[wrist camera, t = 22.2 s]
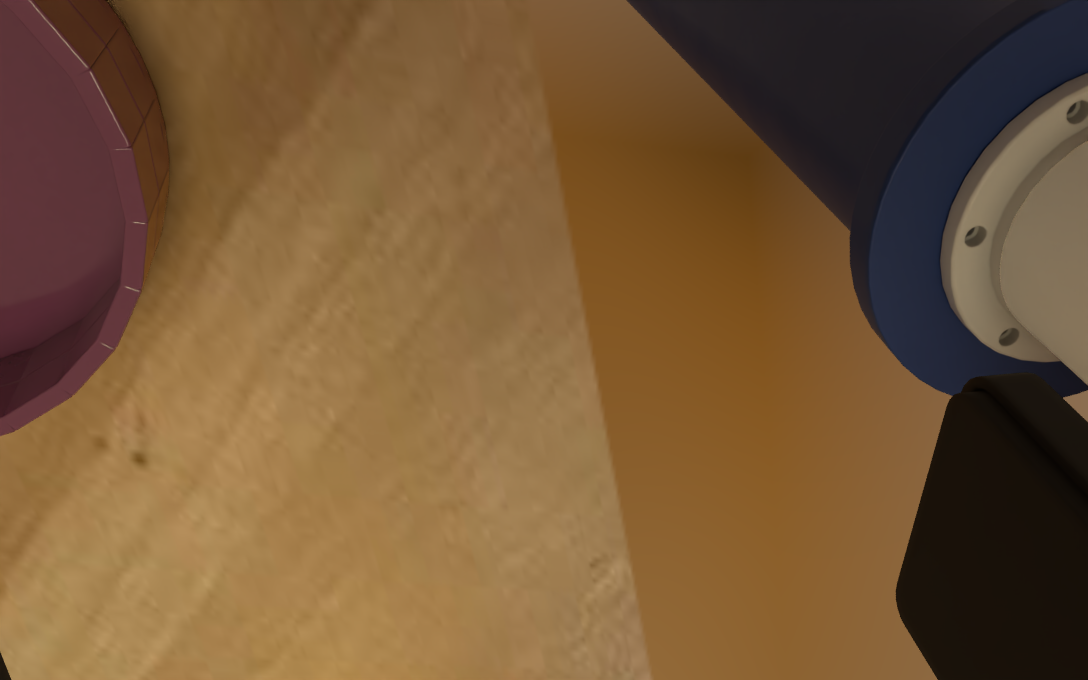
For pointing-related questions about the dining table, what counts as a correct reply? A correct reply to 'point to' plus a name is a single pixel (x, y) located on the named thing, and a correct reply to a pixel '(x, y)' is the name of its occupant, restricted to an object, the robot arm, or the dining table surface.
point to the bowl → (71, 196)
